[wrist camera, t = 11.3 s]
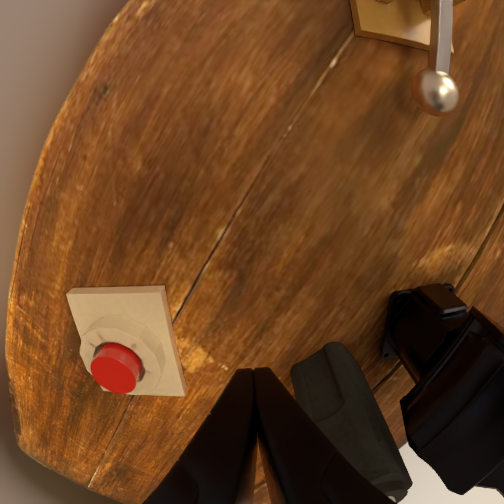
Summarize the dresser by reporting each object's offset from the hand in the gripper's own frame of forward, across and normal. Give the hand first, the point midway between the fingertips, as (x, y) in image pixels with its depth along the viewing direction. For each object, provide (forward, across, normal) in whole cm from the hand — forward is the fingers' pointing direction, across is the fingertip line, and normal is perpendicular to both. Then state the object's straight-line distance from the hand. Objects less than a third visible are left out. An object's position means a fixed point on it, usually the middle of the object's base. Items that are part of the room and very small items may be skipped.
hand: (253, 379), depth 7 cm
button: (+10, +10, +8) cm, 16 cm away
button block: (+13, +10, +8) cm, 18 cm away
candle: (+13, -6, +12) cm, 19 cm away
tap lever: (+9, -12, -15) cm, 21 cm away
